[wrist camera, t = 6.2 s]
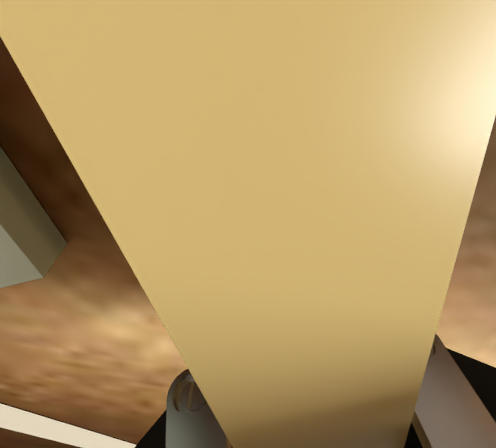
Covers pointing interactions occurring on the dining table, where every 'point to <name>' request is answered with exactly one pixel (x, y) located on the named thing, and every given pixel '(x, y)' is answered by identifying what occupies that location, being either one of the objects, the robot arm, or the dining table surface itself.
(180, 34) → the pale yellow paper bar
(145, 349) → the dining table surface
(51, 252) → the tray
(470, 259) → the dining table surface
